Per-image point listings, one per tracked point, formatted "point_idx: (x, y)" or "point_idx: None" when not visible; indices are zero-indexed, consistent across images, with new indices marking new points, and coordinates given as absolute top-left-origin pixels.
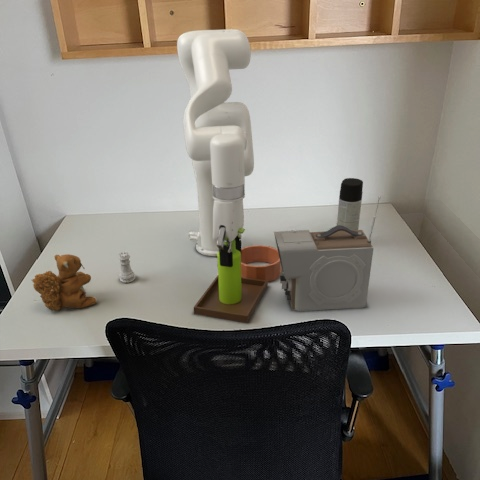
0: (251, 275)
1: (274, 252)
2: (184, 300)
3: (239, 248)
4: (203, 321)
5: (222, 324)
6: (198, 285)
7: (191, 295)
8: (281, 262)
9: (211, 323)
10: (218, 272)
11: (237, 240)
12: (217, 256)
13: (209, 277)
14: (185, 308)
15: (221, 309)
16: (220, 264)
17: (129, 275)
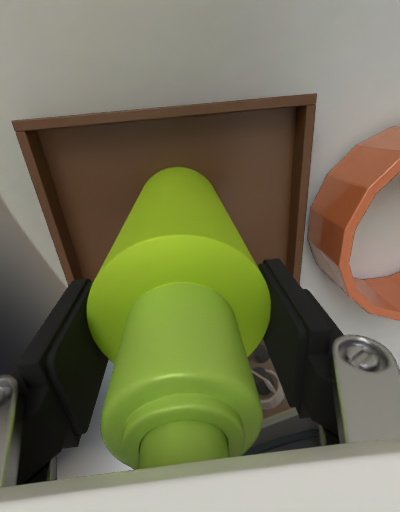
0: (321, 234)
1: None
2: (91, 16)
3: (271, 357)
4: (11, 180)
5: (36, 244)
6: (236, 17)
7: (144, 29)
8: (297, 417)
9: (19, 211)
10: (132, 213)
11: (303, 399)
12: (119, 249)
13: (317, 37)
14: (39, 60)
15: (100, 210)
16: (72, 285)
17: None
